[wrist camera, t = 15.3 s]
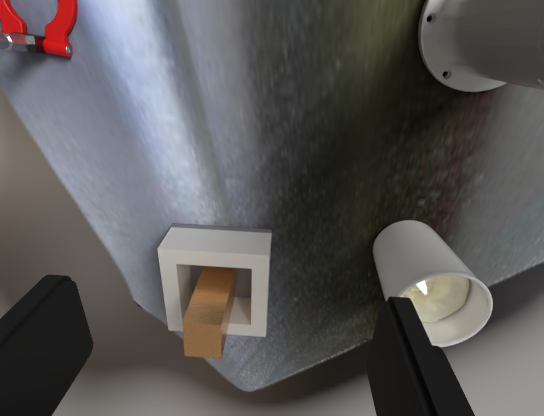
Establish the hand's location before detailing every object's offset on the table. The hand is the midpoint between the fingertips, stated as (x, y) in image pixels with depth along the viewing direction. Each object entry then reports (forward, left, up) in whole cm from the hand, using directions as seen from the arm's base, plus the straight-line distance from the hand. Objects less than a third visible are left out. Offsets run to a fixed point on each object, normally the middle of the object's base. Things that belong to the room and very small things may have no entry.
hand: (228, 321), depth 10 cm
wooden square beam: (+6, +21, -29) cm, 36 cm away
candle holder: (-18, +16, -31) cm, 39 cm away
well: (+6, +21, -30) cm, 37 cm away
